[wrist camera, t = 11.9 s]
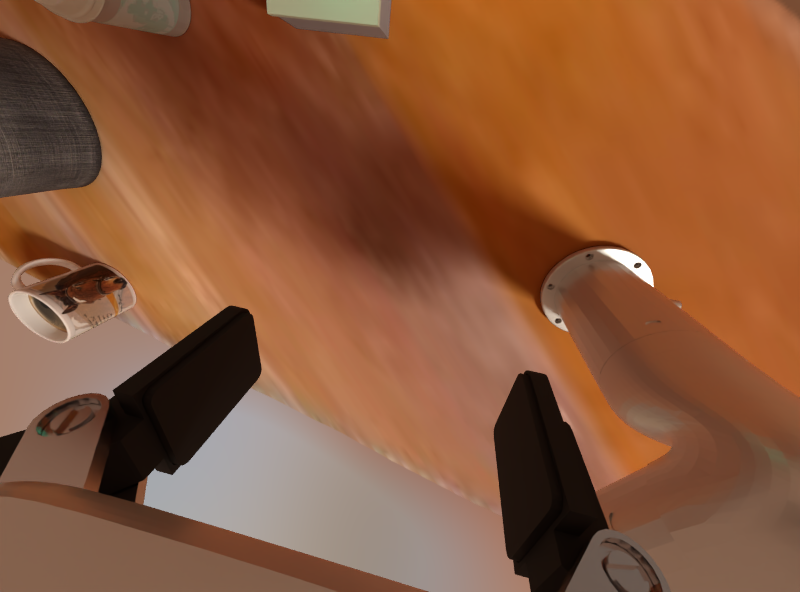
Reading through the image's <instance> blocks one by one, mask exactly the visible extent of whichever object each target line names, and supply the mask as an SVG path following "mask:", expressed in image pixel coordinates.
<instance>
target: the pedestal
mask: <svg viewBox="0 0 800 592" xmlns="http://www.w3.org/2000/svg"><path fill="white" fill-rule="evenodd" d="M266 3H267V14H269V15H271V16H277V17H280V18H281V19H283V20H284V21H286V22H287V23H289V24H290V25H292V26H293V27H295V28H296V29H305V30H314V31H323V32H332V33H341V34H350V35H359V36H368V37H377V38H386V39H388V36H389V23H390V10H391V0H266Z"/></svg>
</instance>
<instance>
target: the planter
mask: <svg viewBox="0 0 800 592" xmlns="http://www.w3.org/2000/svg"><path fill="white" fill-rule="evenodd" d="M101 160H102V156H101V146H100V141H99V137H98V134H97V131H96V128H95V125H94V123H93V121H92V118H91V116H90V114H89V112H88V110H87V109H86V107H85V105H84V103H83V102H82V100H81V98H80V97H79V95H78V94H77V93H76V91H75V90H74V88H73V87H72V86H71V85H70V83H69V82H68V81H67V80H66V78H65V77H64V76H63V75H62V74H61V73H60V72H59V71H58V70H57V69H56V68H55V67H54V66H53V65H52V64H51V63H50V62H49V61H47V60H46V59H45V58H44V57H42V56H41V55H40V54H38V53H37V52H36V51H34V50H32V49H31V48H29V47H27V46H25V45H23V44H21V43H19V42H16V41H13V40H9V39H5V38H0V198H2V197H9V196H16V195H23V194H30V193H37V192H44V191H51V190H59V189H66V188H77V187H83V186H87V185H89V184H91V183H92V182H93V181H94V180H95V179H96V177H97V176H98V174H99V171H100V168H101Z"/></svg>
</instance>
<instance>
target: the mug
mask: <svg viewBox="0 0 800 592" xmlns="http://www.w3.org/2000/svg"><path fill="white" fill-rule="evenodd" d="M41 265H58V266H63V267H66V268H69V269H70V270H72V271H69V272H66V273H64V274H61V275H58V276H55V277H52V278H49V279H46V280H43V281H40V282H37V283H35V284H32V285H29V286H25V285H24V284H23V283H22V281H21V275H22V274H23V273H24V272H25V271H26V270H28V269H30V268H33V267H36V266H41ZM11 284H12V287H13V288H14V289H15V290H14V291H12V292H11V293H10V294H9V296H8V301H9V305H10V307H11V309H12V311H13V312H14V314H15V315H16V316H17V318H19V320H20V321H21V322H22V323H23V324H24V325H25V326H26V327H28V328H29V329H30V330H31V331H33V332H34V333H36V334H37V335H39V336H41V337H42V338H44V339H47V340H49V341H52V342H56V343H64V342H67V341H69V340H71V339H73V338H75V337H77V336H79V335H81V334H83V333H85V332H87V331H89V330H90V329H92V328H94V327H96V326H98V325H100V324H102V323H104V322H106V321H108V320H110V319H112V318H114V317H115V316H117V315H119V314H121V313H123V312H125V311H127V310H129V309H131V308H132V307H134V305H135V303H136V294H135V291H134V289H133V287H132V286H131V284H130V283H129V281H128V280H127V279H126V278H125V277H124V276H123V275H122V274H121V273H120V272H118V271H117V270H115V269H114V268H112V267H110V266H108V265H105V264H102V263H93V264H90V265H87V266H84V267H81V266H79V265H78V264H76V263H74V262H72V261H69V260H65V259H60V258H42V259H36V260H32V261H29V262H27V263H25V264H23V265H21V266H20V267H18V268H17V269H16V271H15V272H14V274H13V276H12V278H11Z"/></svg>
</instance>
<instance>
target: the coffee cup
mask: <svg viewBox="0 0 800 592" xmlns="http://www.w3.org/2000/svg"><path fill="white" fill-rule="evenodd" d="M34 1H36V2H38V3H40V4H41V5H43V6H44V7H45V8H47V9H48V10H49V11H51V12H53V13H54V14H56V15H59V16H61V17H63V18H65V19H67V20H69V21H72V22H76V23H87V22H90V21H92V22H97V23H102V24H108V25H113V26H119V27H124V28H129V29H135V30H140V31H145V32H151V33H156V34H162V35H168V36H174V37H177V36H181V35H182V34H184V33H185V32H186V30H187V29H188V27H189V24H190V19H191V7H190V2H189V0H34Z"/></svg>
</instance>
